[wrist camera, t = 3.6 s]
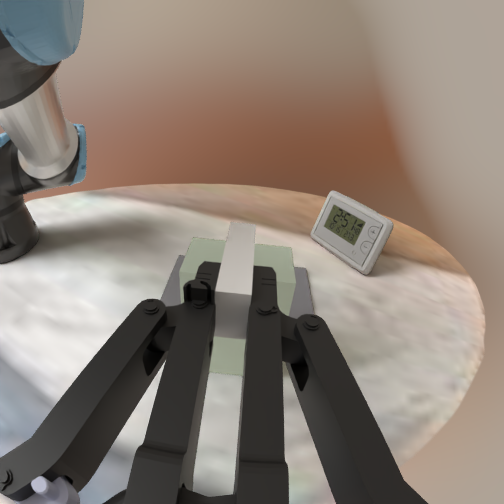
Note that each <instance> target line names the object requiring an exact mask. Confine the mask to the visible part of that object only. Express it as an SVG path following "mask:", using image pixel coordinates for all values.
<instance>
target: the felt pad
mask: <svg viewBox="0 0 504 504" xmlns="http://www.w3.org/2000/svg"><path fill="white" fill-rule="evenodd" d="M184 258H185V256H183V255H179V257H178V259H177V262H176V264H175V266H174V269H173V271H172V273H171V276H170V278H169V280H168V283H167V285H166V287H165V290H164V292H163V295H162V297H161V300H160V301H162V302H163V303H164V304H165V305H166V307H167V306H175V305H179V304H181V295H180V277H179V271H180V268H181V266H182V263H183V261H184ZM294 271H295V279H296V286H295V290H294V295H293V299H292V304H291V308H290V312H289V316H290V317H292V318H295V319H298V317H300V316H301V315H304V314H313V315H314V311H313V306H312V300H311V294H310V289H309V283H308V278H307V272H306V268H300V267H294Z"/></svg>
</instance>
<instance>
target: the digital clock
mask: <svg viewBox="0 0 504 504" xmlns="http://www.w3.org/2000/svg"><path fill="white" fill-rule="evenodd" d="M392 229H393V223H392V222H391V221H390V220H389V219H387V218H385V217H383V216H382V215H380V214H379V213H378V212H376V211H374V210H372V209H370V208H369V207H367V206H365V205H363V204H361V203H359V202H357V201H355V200H353V199H351V198H350V197H348V196H347V197H346V196H344V195H342V194H340V193H338V192H336V191H331V192H330V193H329V195H328V197H327V199H326V201H325V203H324V205H323V208H322V210H321V212H320V214H319V216H318V218H317V221H316V223H315V225H314V227H313V229H312V231H311V238H312V239H313V240H315V241H316V242H318V243H319V244H321V246H322V247H323V248H325V249H326V250H328V251H329V252H331V253H332V254H333V255H335V256H336V257H338V258H339V259H341V260H342V261H343V262H345V263H346V264H348V265H349V266H351V267H352V268H353V267H354V268H355V269H357V270H358V271H359V272H361V273H362V274H365V275H367V274H369V273H370V272H371V270H372V269H373V267H374V265H375V263H376V261H377V259H378V257H379V255H380V254H381V252H382V250H383V248H384V246H385V244H386V242H387V240H388V238H389V236H390V234H391V232H392Z"/></svg>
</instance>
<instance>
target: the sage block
mask: <svg viewBox="0 0 504 504" xmlns="http://www.w3.org/2000/svg"><path fill="white" fill-rule="evenodd" d="M225 244H226V241H224V240H214V239H204V238H194V237H193V239H192V241H191V244H190V246H189V248H188V251H187V253H186V256H185V258H184V261H183V263H182V266H181V268H180V271H179V277H180V295H181V304H182V303H183V302H184V293H183V286H184V285H185V283H187V282H188V281H190V280H194V279H195V276H196V274H197V270H198V267H199V266H200V265H201V264H202V263H203V262H204V261H208V262H218V263H221V262H222V258H223V253H224V249H225ZM253 265H255V266H266V267H272V268H273V269H274V271H275V272H276V279H277V280H276V281H277V301H278V307H279V309H280V311H281V312H282V313H284V314H285V315H287V316H289V312H290V308H291V304H292V299H293V295H294V290H295V286H296V279H295V271H294V264H293V256H292V249H291V247H283V246H273V245H263V244H255V248H254V264H253ZM245 343H246V340H244V339H234V338H224V337H215V336H214V338H213V350H212V356H211V362H210V368H209V372H212V373H220V374H229V375H239V376H243V366H244V351H245Z"/></svg>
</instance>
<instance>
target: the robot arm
mask: <svg viewBox="0 0 504 504" xmlns="http://www.w3.org/2000/svg"><path fill="white" fill-rule="evenodd" d="M83 7H84V0H0V125H1V127H2V128H3V129H4V131H5V133H2V134H0V263H4V262H8V261H11V260H13V259H15V258H18V257H19V256H21V255H23V254H25V253H26V252H27V251H29V250H30V249H31V248H32V247H33V246H34V245H35V244H36V242H37V241H38V238H39V233H38V229H37V225H36V223H35V221H33V219H32V217H31V215H30V213H29V211H28V209H27V207H26V205H25V203H24V199H23V194H27V193H30V192H36V191H41V190H45V189H50V188H56V187H61V186H66V185H69V186H70V185H73V184H75V183H79V182H81V181H83V179H84V178H85V175H86V157H87V156H86V153H87V151H86V132H85V128H84V126H83V125H81V124H72V123H71V122H70V121H69V120H67V119H65V118H64V113H63V108H62V103H61V99H60V93H59V88H58V82H57V76H56V70H57V69H58V67H59V65H60V64H61V62H62V60H64V59H66V58H68V57H69V56H70V55H72V54H73V53H74V52H75V50H76V48H77V46H78V43H79V39H80V35H81V28H82V19H83ZM255 231H256V224H247V223H236V222H231V223H230V227H229V231H228V236H227V240H226V244H225V249H224V253H223V258H222V262H221V263H218V262H208V261H204V262H203V263H202V264H201V265H200V266H199V267H198V270H197V274H196V276H195V279H194V280H190V281H188V282H187V283H185V285H184V286H183V293H184V302H183V303H182V304H179V305H175V306H167V307H166V305H165V304H164V303H163V302H162V301H160V300H158V299H147V300H144V301H142V302H141V303H139V304H138V305H137V306H136V307H135V309H134V310H133V311H132V312H131V313H130V314H129V316H128V317H127V318H126V319H125V320H124V321H123V323H122V324H121V325H120V326H119V327H118V328H117V330H116V331H115V332H114V333H113V334H112V336H111V337H110V338H109V339H108V340H107V342H106V343H105V344H104V345H103V346H102V348H101V349H100V350H99V351H98V352H97V354H96V355H95V356H94V357H93V359H92V360H91V361H90V362H89V363H88V365H87V366H86V367H85V368H84V370H83V371H82V372H81V373H80V375H79V376H78V377H77V378H76V380H75V381H74V382H73V383H72V385H71V386H70V387H69V389H68V390H67V391H66V392H65V394H64V395H63V396H62V397H61V399H60V400H59V401H58V403H57V404H56V405H55V407H54V408H53V409H52V411H51V412H50V413H49V414H48V416H47V417H46V418H45V420H44V421H43V423H42V424H41V425H40V427H39V428H38V429H37V431H36V432H35V433H34V435H33V436H32V437H31V438H30V439H29V440H27V441H26V442H24V443H23V444H21V445H20V446H18V447H16V448H15V449H13V450H12V451H10V452H9V453H7V454H6V455H4V456H3V457H1V458H0V493H1V494H3V495H5V496H7V497H8V498H10V499H12V500H13V501H14V502H15V503H16V504H80V498H79V495H78V492H79V491H81V490H82V488H83V487H84V486H85V485H86V484H87V483H88V482H89V481H90V479H91V478H92V476H93V475H94V474H95V472H96V470H97V469H98V467H99V465H100V464H101V462H102V461H103V459H104V457H105V456H106V454H107V452H108V451H109V449H110V448H111V446H112V444H113V443H114V441H115V439H116V438H117V436H118V435H119V433H120V431H121V430H122V428H123V427H124V425H125V423H126V422H127V420H128V419H129V417H130V415H131V414H132V412H133V411H134V409H135V407H136V406H137V404H138V403H139V401H140V400H141V398H142V396H143V395H144V393H145V392H146V390H147V388H148V387H149V385H150V384H151V382H152V381H153V379H154V377H155V376H156V374H157V373H158V371H159V370H160V368H161V366H162V365H163V363H164V362H165V360H166V362H165V365H164V369H163V372H162V376H161V379H160V383H159V386H158V390H157V394H156V397H155V401H154V405H153V408H152V412H151V416H150V420H149V424H148V427H147V431H146V435H145V439H144V442H143V444H142V445H141V446H139V447H138V449H137V450H136V453H135V457H134V461H133V465H132V469H131V473H130V477H129V481H128V486H127V489H125V490H123V491H121V492H119V493H118V494H116V495H115V496H113V497H112V498H111V499H109V500H108V501H106V502H105V503H103V504H289V476H288V466H287V463H286V462H285V455H284V405H283V372H282V361H284V362H286V366H287V369H288V371H289V374H290V377H291V380H292V383H293V385H294V388H295V391H296V394H297V397H298V399H299V402H300V405H301V408H302V411H303V413H304V416H305V419H306V422H307V425H308V427H309V430H310V433H311V436H312V439H313V441H314V444H315V447H316V450H317V452H318V455H319V458H320V461H321V463H322V466H323V469H324V472H325V475H326V477H327V480H328V483H329V486H330V488H331V491H332V494H333V497H334V499H335V502H336V504H428V503H427V502H426V501H425V500H424V499H423V498H422V497H421V496H420V495H419V494H418V493H417V492H416V491H414V490H413V489H412V488H411V487H410V486H409V485H408V484H407V483H406V482H405V481H404V479H403V477H402V475H401V473H400V471H399V468H398V466H397V464H396V462H395V460H394V458H393V456H392V454H391V451H390V449H389V447H388V445H387V443H386V441H385V439H384V437H383V435H382V433H381V431H380V429H379V427H378V425H377V422H376V420H375V418H374V416H373V414H372V412H371V410H370V408H369V406H368V404H367V402H366V400H365V398H364V396H363V394H362V392H361V390H360V388H359V386H358V384H357V382H356V380H355V378H354V376H353V374H352V372H351V371H350V369H349V367H348V365H347V363H346V361H345V359H344V357H343V355H342V353H341V351H340V349H339V347H338V345H337V343H336V342H335V340H334V338H333V336H332V334H331V332H330V330H329V328H328V326H327V324H326V323H325V321H324V320H323V319H322V318H320V317H319V316H317V315H313V314H304V315H301V316H300V317H298V319H295V318H292V317H290V316H287V315H285V314H284V313H282V312H281V311H280V309H279V307H278V301H277V281H276V280H277V279H276V272H275V271H274V269H273V268H272V267H266V266H255V265H253V264H254V248H255ZM214 336H215V337H224V338H234V339H244V340H246V343H245V351H244V366H243V379H242V392H241V405H240V418H239V431H238V444H237V457H236V470H235V482H234V492H233V494H231V495H224V496H215V497H207V496H204V495H201V494H198V493H196V492H193V473H194V466H195V459H196V452H197V445H198V438H199V432H200V425H201V419H202V412H203V406H204V399H205V393H206V387H207V381H208V375H209V368H210V362H211V356H212V350H213V338H214Z"/></svg>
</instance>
